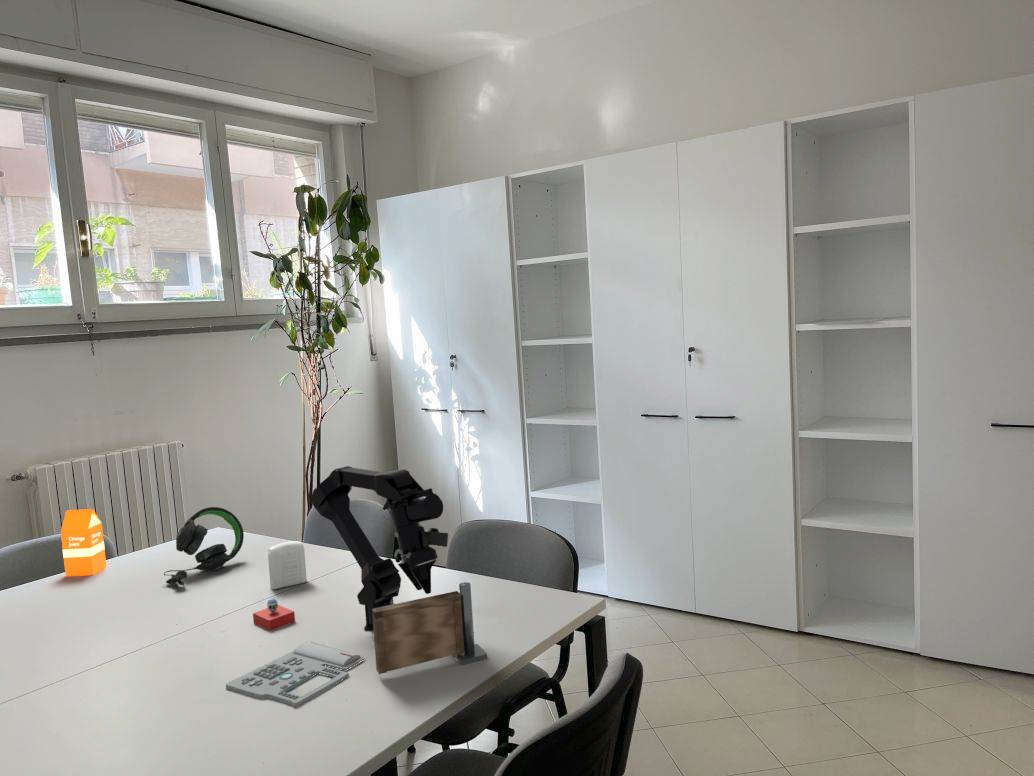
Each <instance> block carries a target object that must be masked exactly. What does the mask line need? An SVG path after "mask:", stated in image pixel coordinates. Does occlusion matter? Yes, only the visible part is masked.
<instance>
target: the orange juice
mask: <svg viewBox="0 0 1034 776" xmlns="http://www.w3.org/2000/svg"><path fill="white" fill-rule="evenodd" d="M102 523H103V522H102V521H101V519H100V518H99V516H98V514H96V511H95V510H94V509H93V508H88V509H87V508H85V509H70V510H69V509H67V510H66V511H65V515H64V518H63V523H62V525H61V529H60V536H61V537H60V538H61V539H60V540H61V548H62V556H63V564H64V573H65V577H79V576H80V577H81V576H83V577H84V576H94V575H96V574H97V573H100V572H101V571H102V570H104V569H106V568H107V560H106V559H107V558H106V551H105V541H104V533H103V524H102Z"/></svg>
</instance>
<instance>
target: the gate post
mask: <svg viewBox="0 0 1034 776" xmlns="http://www.w3.org/2000/svg"><path fill="white" fill-rule="evenodd" d="M458 586H459V587H458V588H459V593H460V594H461V609H462V624H463V639H464V653H463V654H459V655H457V654H456V655H452V656H453V658H456V659H457V660H458V661H457V660H456V659H455V660H456V661H457V662H458V663H459V664H460V665H461V666H464V665H467V664H469V663H470V664H471V663H475V662H478V661H482V660H487V659H489V658H488V657H489V656H488V653H487V651H485V650H484V649H483V648H482V647H481V646H480V645H479V644H478V643H475V633H474V619H473V605H472V604H473V602H472V587H471V586H472V585H471V583H470V582H468V581H467V582H460V583H459V585H458Z"/></svg>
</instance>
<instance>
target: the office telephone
mask: <svg viewBox="0 0 1034 776" xmlns="http://www.w3.org/2000/svg"><path fill="white" fill-rule="evenodd" d="M362 660H364V661H365V657H364V656H362V655H360V654H356V653H354V652H353V653H352V652H347V651H345V650H342V649H339V648H334V647H331V646H327V645H323V644H320V643H316V642H313V641H312V642H310V641H309V642H307V641H306V642H303V643H300V644H298V645H297V646H296V647H295V648H294V649H293V650H292V651H290V652H287V653H286V654H284V655H282V656H280V657H278V658H276V659H274V660H272V661H270V662H268V663H266V664H264V665H262V666H260V667H257V668H256V669H254V670H252V671H250V672H247V673H245V674H244V675H241V676H238V677H237V678H234V679H232V680H231V681H228V682H227V683H225V689H227V690H229V691H233V692H236V693H239V694H243V695H246V696H250V697H253V698H256V699H260V700H265V699H270V700H274V701H277V702H280V703H283V704H287V705H290V706H292V708H297V707H300V706H301V705H303V704H306V702H308V701H310V700H312V699H313V698H315V697H317V696H319V695H320V694H322V693H324V692H326V691H327V690H329V689H330V687H331V688H332V687H334V686H336V685H337V684H339V683H341V682H342V681H343V680H342V679H344V678H345V677H347V676H348V675H350V672H349V671H348V670H347V669H349V668H350V667H352V666H354V665H356V664H358V663H359V662H360V661H362ZM325 665H326V666H330V667H334V668H338V669H342V670H347V671H341V670H337V669H333V668H329V667H325ZM358 665H359V664H358ZM356 666H357V665H356ZM349 670H350V669H349ZM317 673H321V674H325V675H328V676H331V677H334V678H331V677H330V678H331V679H330V680H328V681H326V682H325V683H322V684H321V685H320V686H318V687H315V688H314V689H312V690H310V691H309V692H306V693H305V694H303V695H296V694H293V693H290V692H289V691H291V690H292V689H294V688H296V687H297V686H300V685H302V684H303V683H305V682H307V681H308V680H309V678H310V677H312V676H313V675H315V674H317ZM317 675H318V674H317ZM315 676H316V675H315ZM313 677H314V676H313ZM313 677H312V678H313ZM348 677H349V676H348ZM348 677H347V678H348ZM307 679H308V680H307ZM310 679H311V678H310ZM345 679H346V678H345ZM345 679H344V680H345ZM341 680H342V681H341ZM304 681H305V682H304ZM340 681H341V682H340ZM338 682H339V683H338ZM336 683H337V684H336ZM335 684H336V685H335ZM333 685H334V686H333ZM328 688H329V689H328Z"/></svg>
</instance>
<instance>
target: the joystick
mask: <svg viewBox="0 0 1034 776" xmlns="http://www.w3.org/2000/svg"><path fill="white" fill-rule="evenodd" d="M266 605H267V606H266V607H267V608H264V609H261V610H259V611H258V610H257V611H254V612H253V613H252V617H253V618H252V619H253V624H255V625H257V626H260V627H262V628H264V629H266V630H268V631H269V632H270V631H273V630H276V629H279V628H281V627H284V626H286V625H289V623H290V624H292V623H295V622H296V616H295V615H296V614H295V611H294V610H292V609H289V608H286V607H284V606H282V605H279V604H278V601H277V599H276V598H275V597H272V598H270V599H269V600H268V601H267V604H266ZM294 621H295V622H294Z"/></svg>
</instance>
